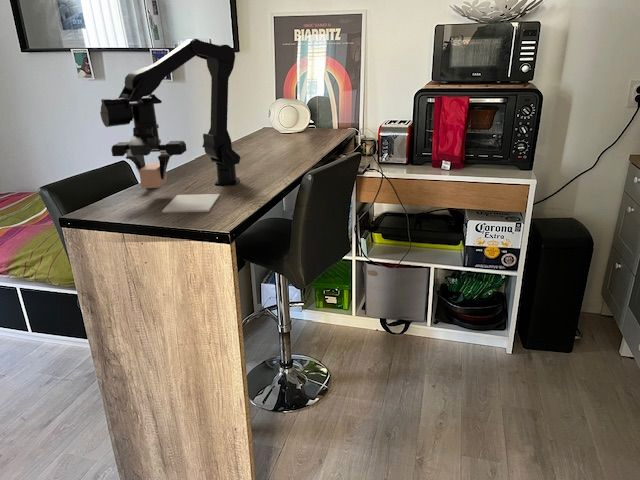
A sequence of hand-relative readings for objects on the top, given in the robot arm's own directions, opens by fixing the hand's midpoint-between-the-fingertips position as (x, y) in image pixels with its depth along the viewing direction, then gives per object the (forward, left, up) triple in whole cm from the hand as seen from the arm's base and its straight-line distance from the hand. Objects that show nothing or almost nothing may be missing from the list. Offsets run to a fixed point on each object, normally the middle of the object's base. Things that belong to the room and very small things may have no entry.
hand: (154, 179), depth 139 cm
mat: (+6, +12, -5) cm, 14 cm away
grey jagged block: (-11, -6, -6) cm, 14 cm away
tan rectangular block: (0, 0, -1) cm, 1 cm away
